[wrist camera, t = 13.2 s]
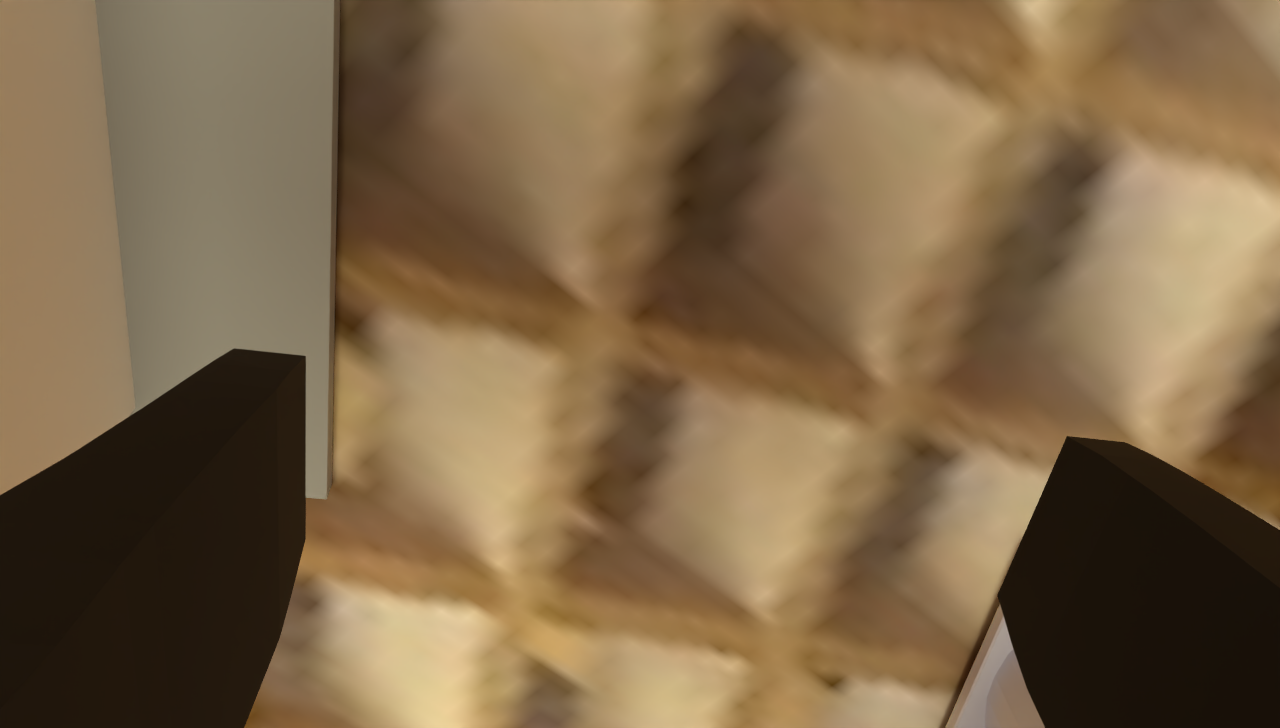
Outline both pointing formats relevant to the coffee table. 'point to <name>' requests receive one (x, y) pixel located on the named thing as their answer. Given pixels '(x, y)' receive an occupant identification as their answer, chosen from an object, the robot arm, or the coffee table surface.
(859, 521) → the coffee table surface
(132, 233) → the grey mat
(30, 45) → the off-white block
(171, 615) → the robot arm
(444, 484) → the coffee table surface
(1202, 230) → the coffee table surface
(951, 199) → the coffee table surface
